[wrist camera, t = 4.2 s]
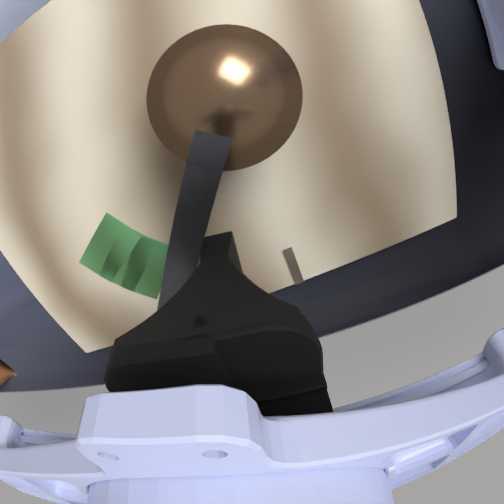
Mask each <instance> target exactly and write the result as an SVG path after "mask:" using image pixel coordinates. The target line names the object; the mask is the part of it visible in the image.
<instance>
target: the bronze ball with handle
mask: <svg viewBox="0 0 504 504" xmlns="http://www.w3.org/2000/svg"><path fill="white" fill-rule="evenodd" d="M302 102H303V90H302V83H301V79H300V75H299V72H298V70H297V68H296V65H295V63H294V62H293V60H292V59H291V57H290V55H289V54H288V53H287V52H286V51H285V49H284V48H283V47H282V46H281V45H280V44H278V43H277V42H276V41H275V40H273V39H272V38H271V37H269V36H268V35H266V34H264V33H262V32H260V31H258V30H255V29H252V28H249V27H245V26H240V25H231V24H221V25H212V26H207V27H203V28H200V29H197V30H195V31H193V32H190V33H188V34H186V35H185V36H183V37H181V38H180V39H178V40H177V41H176V42H175V43H173V44H172V45H171V46H170V47H169V48H168V49H167V50H166V51H165V52H164V53H163V54H162V56H161V57H160V59H159V60H158V62H157V63H156V65H155V67H154V69H153V71H152V73H151V76H150V79H149V82H148V88H147V97H146V103H147V112H148V116H149V120H150V123H151V125H152V128H153V130H154V132H155V134H156V135H157V137H158V139H159V140H160V141H161V143H162V144H163V145H164V146H165V147H166V148H167V149H168V150H169V151H170V152H171V153H172V154H174V155H175V156H176V157H177V158H179V159H181V160H182V161H184V162H186V167H185V171H184V175H183V180H182V184H181V188H180V193H179V197H178V202H177V206H176V211H175V216H174V220H173V225H172V230H171V235H170V240H169V246H168V251H167V256H166V262H165V267H164V273H163V279H162V285H161V291H160V297H159V302H158V307H157V310H159V309H160V308H161V307H162V306H163V305H164V304H165V303H166V302H167V301H168V300H170V299H171V298H172V297H173V296H174V295H175V294H176V293H177V292H178V291H179V290H180V288H181V287H182V286H183V285H184V284H185V283H186V282H187V280H188V279H189V278H190V277H191V275H192V274H193V272H194V271H195V269H196V268H197V265H198V261H199V257H200V253H201V249H202V245H203V241H204V237H205V234H206V230H207V226H208V222H209V219H210V215H211V211H212V208H213V204H214V201H215V197H216V193H217V190H218V186H219V183H220V179H221V176H222V172H223V171H234V170H239V169H244V168H247V167H250V166H253V165H256V164H258V163H260V162H262V161H264V160H265V159H267V158H269V157H270V156H271V155H273V154H274V153H275V152H277V151H278V150H279V149H280V148H281V147H282V146H283V145H284V144H285V142H286V141H287V140H288V139H289V137H290V136H291V134H292V133H293V131H294V129H295V127H296V125H297V123H298V120H299V117H300V114H301V109H302Z"/></svg>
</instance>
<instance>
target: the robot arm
mask: <svg viewBox="0 0 504 504" xmlns="http://www.w3.org/2000/svg"><path fill="white" fill-rule="evenodd" d="M477 3H478V6H479V9H480V12H481V15H482V19H483V22H484V26H485V29H486V33H487V37H488V41H489V45H490V49H491V54H492V59H493V63H494V65H495V67H496V68H497V69H501V70H504V0H477ZM104 381H105V384H106V388H107V389H108V391H109V392H108V393H101V394H98V395H94V396H90V397H87V399H86V401H85V404H84V406H83V410H82V414H81V419H80V423H79V427H78V432H77V434H66V433H56V432H47V431H38V430H32V429H25V428H22V426H21V425H20V424H19V423H18V422H16V421H15V420H14V419H12V418H10V417H8V416H4V415H0V480H2V481H3V482H5V483H7V484H9V485H10V486H12V487H14V488H16V489H17V490H19V491H22V492H24V493H27V494H30V495H33V496H37V497H39V498H42V499H46V500H48V501H52V502H55V503H58V504H395V503H394V500H393V497H392V493H391V490H392V489H395V488H397V487H399V486H402V485H404V484H406V483H408V482H410V481H412V480H415V479H417V478H419V477H421V476H423V475H425V474H427V473H429V472H431V471H433V470H435V469H437V468H439V467H441V466H443V465H444V464H446V463H448V462H450V461H452V460H453V459H455V458H457V457H459V456H460V455H462V454H464V453H465V452H467V451H469V450H470V449H472V448H473V447H475V446H477V445H478V444H480V443H482V442H483V441H485V440H486V439H488V438H489V437H491V436H492V435H494V434H495V433H497V432H498V431H500V430H501V429H502V428H504V328H503V329H501V330H499V331H497V332H495V333H494V334H493V335H492V336H491V337H490V338H489V339H488V341H487V342H486V344H485V347H484V349H483V352H482V353H480V354H478V355H476V356H474V357H472V358H470V359H468V360H466V361H464V362H461V363H460V364H457V365H455V366H453V367H451V368H448V369H446V370H444V371H442V372H439V373H437V374H434V375H432V376H430V377H427V378H425V379H422V380H420V381H418V382H415V383H412V384H409V385H407V386H404V387H401V388H399V389H396V390H393V391H390V392H387V393H384V394H381V395H378V396H375V397H372V398H369V399H366V400H363V401H359V402H356V403H353V404H349V405H346V406H342V407H338V408H335V409H332V405H331V402H330V399H329V396H328V392H327V384H326V380H325V377H324V374H323V353H322V347H321V344H320V341H319V339H318V337H317V335H316V333H315V331H314V330H313V328H312V326H311V325H310V323H309V322H308V321H307V319H306V318H305V316H304V315H303V314H302V312H301V311H300V310H299V309H298V307H296V306H294V305H291V304H289V303H286V302H284V301H281V300H279V299H277V298H275V297H273V296H271V295H270V294H268V293H267V292H266V291H264V290H263V289H261V288H260V287H258V286H257V285H256V284H254V283H253V282H252V281H251V280H250V279H249V278H248V277H247V276H246V275H245V274H244V273H243V271H242V267H241V263H240V260H239V256H238V252H237V248H236V244H235V240H234V237H233V233H232V231H229V232H224V233H220V234H216V235H211V236H207V237H204V241H203V245H202V249H201V253H200V263H199V265H198V267H197V268H196V269H195V271H194V272H193V274H192V275H191V277H190V278H189V279H188V280H187V282H186V283H185V284H184V285H183V286H182V287H181V288H180V290H179V291H178V292H177V293H176V294H175V295H174V296H173V297H172V298H171V299H170V300H168V301H167V302H166V303H165V304H164V305H163V306H162V307H161V308H160V309H159V310H157V311H156V312H155V313H154V314H153V315H151V316H150V317H149V318H147V319H146V320H145V321H143V322H142V323H140V324H139V325H137V326H136V327H134V328H133V329H131V330H129V331H128V332H126V333H125V334H123V335H121V336H120V337H118V338H116V339H115V341H114V344H113V347H112V350H111V354H110V358H109V362H108V366H107V370H106V374H105V379H104Z"/></svg>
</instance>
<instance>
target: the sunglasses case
mask: <svg viewBox="0 0 504 504" xmlns="http://www.w3.org/2000/svg"><path fill="white" fill-rule="evenodd" d="M13 375H15V376H17V374H16V373H15V372H14V371H13V370H12V369H11V368H10V367H9V366H8V365H6V364H5V363H4V362H3V361H2V360H0V386H1V385H2V384H3V383H4V382H6V381H7V380H8V379H9V378H11V377H12V376H13Z"/></svg>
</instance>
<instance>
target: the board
mask: <svg viewBox="0 0 504 504" xmlns="http://www.w3.org/2000/svg"><path fill="white" fill-rule="evenodd" d="M221 24H231V25H240V26H245V27H249V28H252V29H255V30H258V31H260V32H262V33H264V34H266V35H268V36H269V37H271V38H272V39H273V40H275V41H276V42H277V43H278V44H280V45H281V46H282V47H283V48H284V49H285V51H286V52H287V53H288V54H289V55H290V57H291V59H292V60H293V62H294V63H295V65H296V68H297V70H298V72H299V75H300V79H301V83H302V90H303V102H302V109H301V114H300V117H299V120H298V123H297V125H296V127H295V129H294V131H293V133H292V134H291V136H290V137H289V139H288V140H287V141H286V142H285V144H284V145H283V146H282V147H281V148H280V149H279V150H278V151H277V152H275V153H274V154H273V155H271V156H270V157H269V158H267V159H265V160H264V161H262V162H260V163H258V164H256V165H253V166H250V167H247V168H244V169H239V170H234V171H223V172H222V176H221V179H220V183H219V186H218V190H217V193H216V197H215V201H214V204H213V208H212V211H211V215H210V219H209V222H208V226H207V230H206V234H205V237H207V236H211V235H216V234H220V233H224V232H229V231H232V233H233V237H234V240H235V244H236V248H237V252H238V256H239V260H240V263H241V267H242V271H243V273H244V274H245V275H246V276H247V277H248V278H249V279H250V280H251V281H252V282H253V283H254V284H256V285H257V286H258V287H260V288H261V289H263V290H264V291H266V292H267V293H268V294H269V293H271V292H274V291H277V290H280V289H282V288H285V287H288V286H290V285H293V284H296V285H297V284H300V283H302V282H304V280H306V279H309V278H312V277H314V276H317V275H319V274H322V273H325V272H327V271H330V270H332V269H335V268H337V267H340V266H343V265H345V264H348V263H350V262H353V261H355V260H358V259H360V258H363V257H365V256H368V255H370V254H372V253H375V252H377V251H380V250H382V249H385V248H387V247H389V246H392V245H394V244H397V243H399V242H401V241H404V240H406V239H408V238H411V237H413V236H415V235H418V234H420V233H422V232H425V231H427V230H429V229H432V228H434V227H436V226H439V225H441V224H443V223H445V222H448V221H450V220H452V219H454V218H456V217H457V198H456V178H455V164H454V153H453V144H452V135H451V128H450V121H449V115H448V108H447V103H446V97H445V92H444V87H443V82H442V78H441V73H440V69H439V65H438V61H437V57H436V53H435V49H434V46H433V42H432V39H431V35H430V32H429V29H428V26H427V22H426V19H425V16H424V13H423V11H422V8H421V5H420V2H419V0H52V1H50V2H49V3H48V4H46V5H45V6H44V7H42V8H41V9H40V10H39V11H37V12H36V13H35V14H34V15H32V16H31V17H30V18H29V19H27V20H26V21H25V22H24V23H23V24H22V25H20V26H19V27H18V28H17V29H16V30H15V31H14V32H13V33H11V34H10V35H9V36H8V37H7V38H6V39H5V40H4V41H3V42H2V43H1V44H0V250H1V252H2V253H3V255H4V256H5V257H6V259H7V260H8V262H9V263H10V264H11V266H12V267H13V269H14V270H15V271H16V273H17V274H18V275H19V277H20V278H21V279H22V281H23V282H24V283H25V284H26V286H27V287H28V288H29V290H30V291H31V292H32V293H33V295H34V296H35V297H36V298H37V299H38V301H39V302H40V303H41V304H42V305H43V307H44V308H45V309H46V310H47V311H48V312H49V314H50V315H51V316H52V317H53V318H54V319H55V320H56V322H57V323H58V324H59V325H60V326H61V327H62V328H63V329H64V330H65V331H66V333H67V334H68V335H69V336H70V337H71V338H72V339H73V340H74V341H75V342H76V343H77V344H78V345H79V346H80V347H81V348H82V349H83V350H84V351H85V352H86V353H88V352H92V351H95V350H99V349H102V348H106V347H109V346H112V345H113V344H114V341H115V339H116V338H118V337H120V336H121V335H123V334H125V333H126V332H128V331H129V330H131V329H133V328H134V327H136V326H137V325H139V324H140V323H142V322H143V321H145V320H146V319H147V318H149V317H150V316H151V315H153V314H154V313H155V312H156V311H157V307H158V302H159V297H160V291H161V285H162V279H163V273H164V267H165V262H166V256H167V251H168V246H169V240H170V235H171V230H172V225H173V220H174V216H175V211H176V206H177V202H178V197H179V193H180V188H181V184H182V180H183V175H184V171H185V167H186V162H184V161H182V160H181V159H179V158H177V157H176V156H175V155H174V154H172V153H171V152H170V151H169V150H168V149H167V148H166V147H165V146H164V145H163V144H162V143H161V141H160V140H159V139H158V137H157V135H156V134H155V132H154V130H153V128H152V125H151V123H150V120H149V116H148V112H147V103H146V97H147V88H148V82H149V79H150V76H151V73H152V71H153V69H154V67H155V65H156V63H157V62H158V60H159V59H160V57H161V56H162V54H163V53H164V52H165V51H166V50H167V49H168V48H169V47H170V46H171V45H172V44H173V43H175V42H176V41H177V40H178V39H180V38H181V37H183V36H185V35H186V34H188V33H190V32H193V31H195V30H197V29H200V28H203V27H207V26H212V25H221ZM199 263H200V257H199V261H198V265H199ZM198 265H197V267H198Z"/></svg>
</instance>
